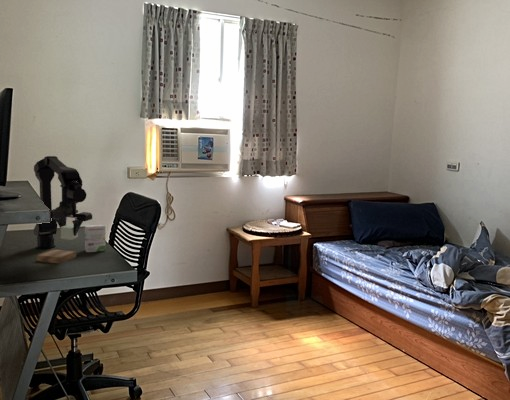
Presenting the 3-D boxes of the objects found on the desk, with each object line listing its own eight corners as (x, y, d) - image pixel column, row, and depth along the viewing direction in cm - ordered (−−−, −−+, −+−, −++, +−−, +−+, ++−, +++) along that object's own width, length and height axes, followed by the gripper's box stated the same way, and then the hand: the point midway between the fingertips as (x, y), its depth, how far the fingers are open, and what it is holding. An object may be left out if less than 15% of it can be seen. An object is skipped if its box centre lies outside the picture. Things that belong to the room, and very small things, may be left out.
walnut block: (37, 262, 205) (37, 255, 205) (54, 255, 216) (54, 249, 215) (60, 264, 203) (60, 257, 202) (76, 258, 213) (76, 251, 213)
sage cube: (60, 238, 207) (60, 227, 206) (67, 236, 211) (67, 224, 211) (71, 239, 206) (71, 228, 205) (78, 237, 210) (78, 225, 210)
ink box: (103, 248, 230) (103, 224, 228) (105, 251, 225) (105, 226, 224) (84, 250, 225) (84, 225, 224) (86, 252, 221) (86, 227, 219)
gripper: (37, 199, 200) (37, 236, 202) (77, 203, 196) (78, 241, 198) (53, 196, 211) (54, 231, 213) (93, 199, 207) (93, 235, 209)
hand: (69, 235), depth 208 cm, fingers closed on sage cube, 5 cm apart
